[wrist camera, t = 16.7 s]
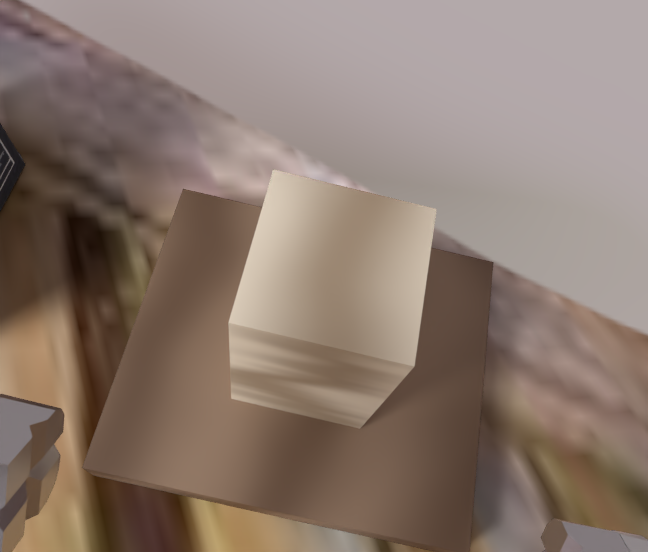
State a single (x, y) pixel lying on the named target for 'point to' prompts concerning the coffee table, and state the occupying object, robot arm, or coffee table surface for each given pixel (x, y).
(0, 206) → the small box
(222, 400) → the walnut board
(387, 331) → the birch block
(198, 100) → the coffee table surface
